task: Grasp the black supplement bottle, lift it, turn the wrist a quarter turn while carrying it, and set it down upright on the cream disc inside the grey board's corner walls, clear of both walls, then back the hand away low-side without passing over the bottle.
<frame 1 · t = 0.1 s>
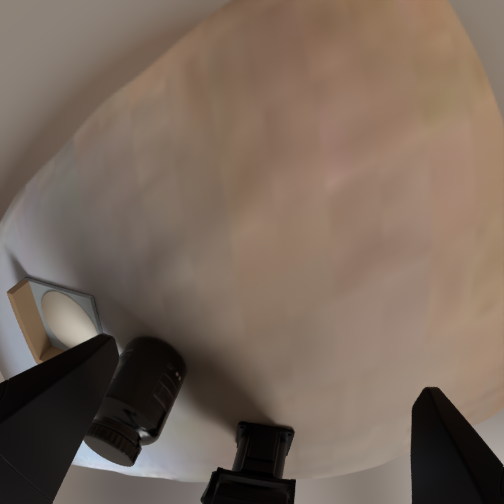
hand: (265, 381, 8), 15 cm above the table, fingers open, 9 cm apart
supplement bottle: (158, 358, 30), on the table
corner arena: (67, 325, 31), on the table
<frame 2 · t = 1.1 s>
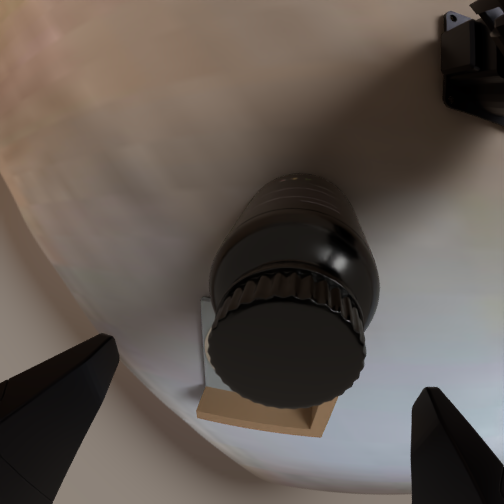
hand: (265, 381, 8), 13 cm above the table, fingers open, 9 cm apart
supplement bottle: (301, 223, 20), on the table
corner arena: (269, 361, 25), on the table
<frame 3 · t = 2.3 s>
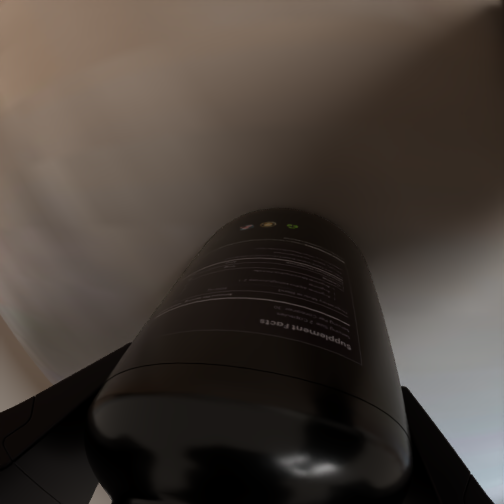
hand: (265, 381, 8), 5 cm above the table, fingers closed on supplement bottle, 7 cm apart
supplement bottle: (284, 282, 13), on the table, touching gripper
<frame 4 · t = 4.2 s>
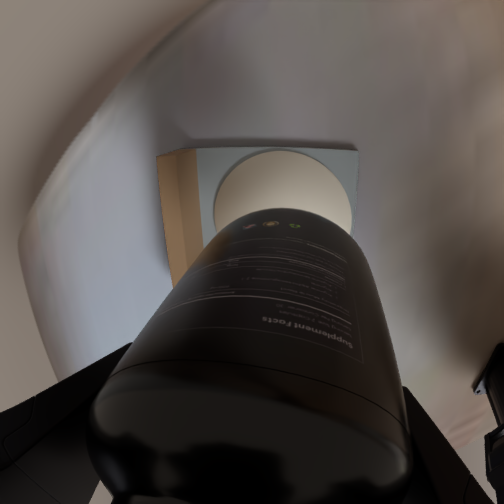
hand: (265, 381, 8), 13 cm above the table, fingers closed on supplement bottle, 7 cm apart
supplement bottle: (286, 282, 13), point 8 cm above the table, touching gripper
corner arena: (267, 231, 21), on the table
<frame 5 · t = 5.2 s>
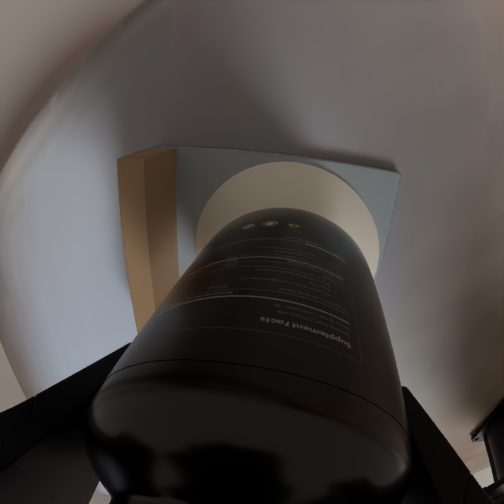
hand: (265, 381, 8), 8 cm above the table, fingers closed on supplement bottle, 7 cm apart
supplement bottle: (285, 282, 13), point 3 cm above the table, touching gripper
corner arena: (264, 265, 16), on the table
when the fingers open (6 cm above the table, at t = 6.1 s): supplement bottle stays where it is, resting on corner arena.
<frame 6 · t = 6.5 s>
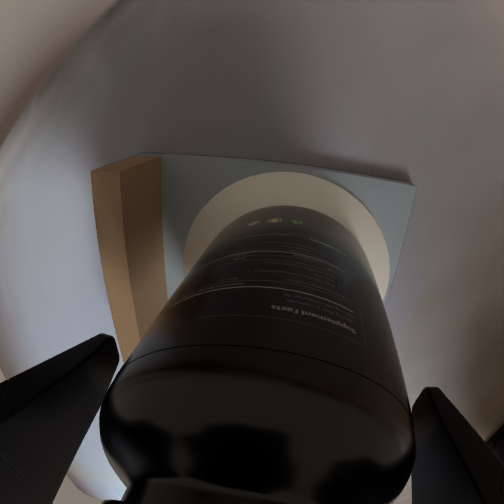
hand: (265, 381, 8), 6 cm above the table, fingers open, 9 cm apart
supplement bottle: (288, 278, 13), point 1 cm above the table, touching corner arena
corner arena: (260, 287, 14), on the table
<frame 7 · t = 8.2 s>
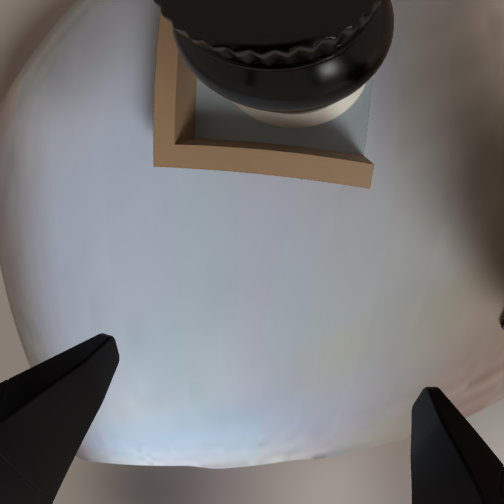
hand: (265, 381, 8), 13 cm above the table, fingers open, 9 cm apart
supplement bottle: (294, 55, 15), point 1 cm above the table, touching corner arena
corner arena: (273, 70, 16), on the table
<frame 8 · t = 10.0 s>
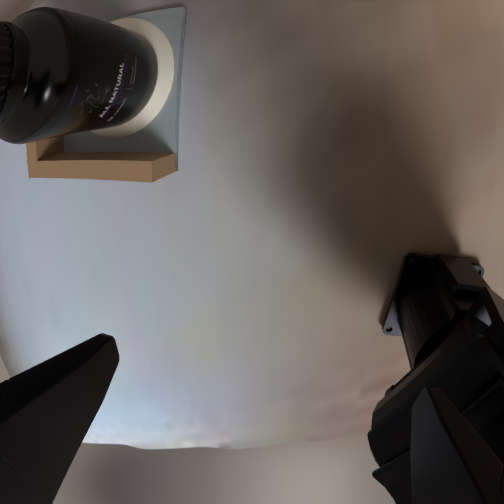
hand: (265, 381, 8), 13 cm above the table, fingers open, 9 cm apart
supplement bottle: (119, 77, 17), point 1 cm above the table, touching corner arena
corner arena: (109, 92, 18), on the table
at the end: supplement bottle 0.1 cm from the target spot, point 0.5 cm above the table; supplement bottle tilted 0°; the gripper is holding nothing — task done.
